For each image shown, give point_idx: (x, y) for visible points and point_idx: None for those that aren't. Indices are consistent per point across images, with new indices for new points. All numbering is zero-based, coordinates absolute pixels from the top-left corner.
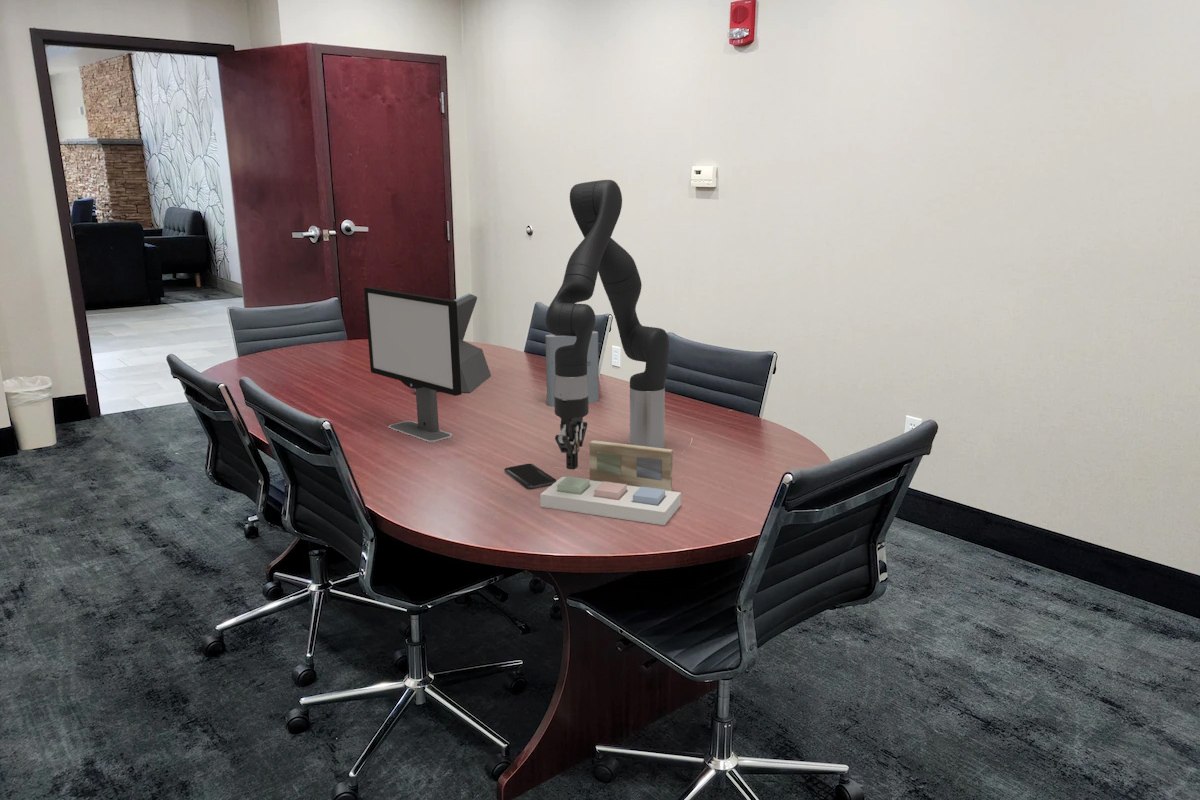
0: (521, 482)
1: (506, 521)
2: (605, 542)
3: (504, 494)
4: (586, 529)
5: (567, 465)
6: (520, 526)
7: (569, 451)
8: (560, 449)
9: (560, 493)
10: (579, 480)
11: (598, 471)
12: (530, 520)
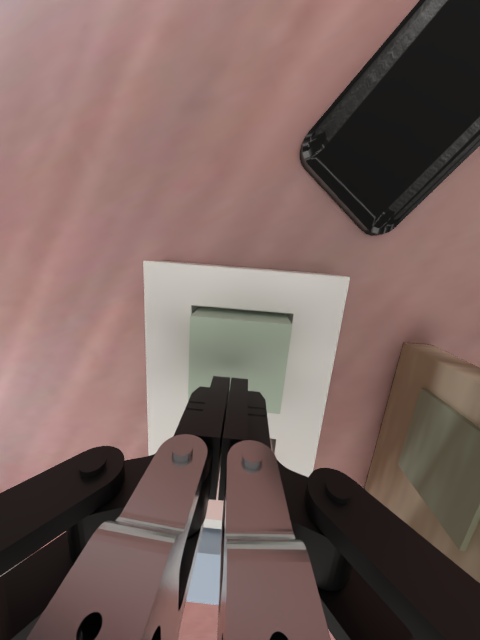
0: (345, 89)
1: (20, 198)
2: (37, 471)
3: (224, 70)
4: (77, 421)
5: (192, 396)
6: (11, 257)
7: (59, 544)
8: (21, 487)
9: (176, 329)
10: (258, 383)
11: (421, 394)
12: (60, 269)
